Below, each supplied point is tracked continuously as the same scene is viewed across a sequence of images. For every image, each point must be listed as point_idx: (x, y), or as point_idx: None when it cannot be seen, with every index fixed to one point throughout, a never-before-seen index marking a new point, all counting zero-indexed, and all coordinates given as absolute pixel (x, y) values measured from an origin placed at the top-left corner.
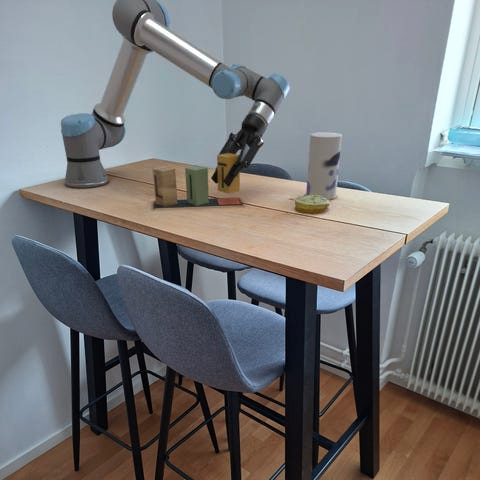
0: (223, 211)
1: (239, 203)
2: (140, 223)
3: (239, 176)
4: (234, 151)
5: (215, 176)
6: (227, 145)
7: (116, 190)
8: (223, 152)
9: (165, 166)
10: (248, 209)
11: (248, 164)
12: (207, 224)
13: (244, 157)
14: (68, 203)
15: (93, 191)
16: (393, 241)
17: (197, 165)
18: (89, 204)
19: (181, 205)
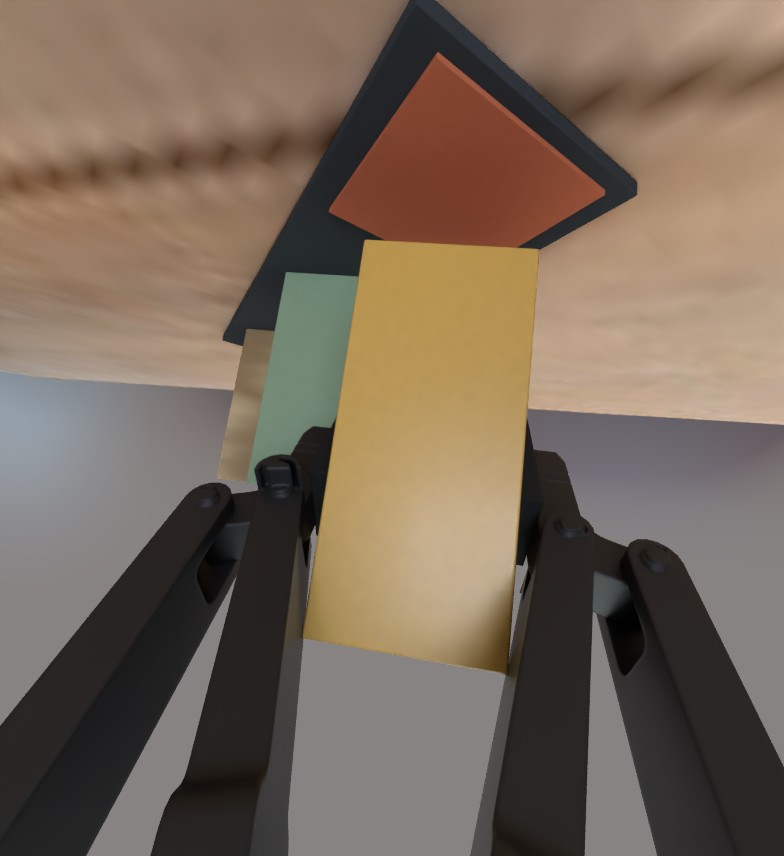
0: (551, 296)
1: (588, 197)
2: None
3: (527, 407)
4: (289, 691)
5: None
6: (143, 738)
7: (7, 320)
8: (209, 614)
9: (222, 478)
10: (728, 199)
11: (683, 598)
12: (587, 376)
13: (615, 674)
14: (177, 386)
15: (33, 344)
16: None
17: (249, 482)
18: (198, 381)
19: None
